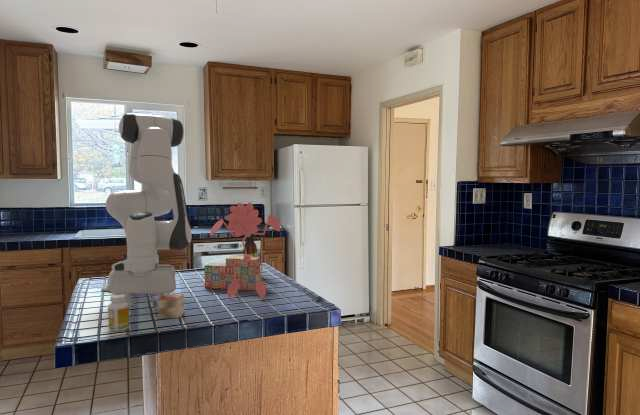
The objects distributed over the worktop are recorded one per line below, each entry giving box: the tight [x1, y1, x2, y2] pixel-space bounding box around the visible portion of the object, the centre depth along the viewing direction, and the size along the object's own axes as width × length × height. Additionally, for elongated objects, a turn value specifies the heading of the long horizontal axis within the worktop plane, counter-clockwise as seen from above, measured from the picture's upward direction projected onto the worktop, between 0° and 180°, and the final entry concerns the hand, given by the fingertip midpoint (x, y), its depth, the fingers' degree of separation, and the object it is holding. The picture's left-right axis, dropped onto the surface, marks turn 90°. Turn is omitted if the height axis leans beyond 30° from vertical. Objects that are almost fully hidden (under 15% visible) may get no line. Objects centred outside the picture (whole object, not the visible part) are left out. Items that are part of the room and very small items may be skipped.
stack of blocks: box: [203, 255, 261, 291], centre depth 178 cm, size 21×6×12 cm, turn 80°
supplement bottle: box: [107, 293, 130, 332], centre depth 130 cm, size 5×5×10 cm
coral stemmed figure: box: [210, 202, 281, 308], centre depth 158 cm, size 15×26×35 cm, turn 86°
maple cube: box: [157, 293, 185, 319], centre depth 143 cm, size 6×6×6 cm
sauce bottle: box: [242, 234, 259, 257], centre depth 199 cm, size 6×6×20 cm
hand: (144, 306), depth 143 cm, fingers open, 7 cm apart
